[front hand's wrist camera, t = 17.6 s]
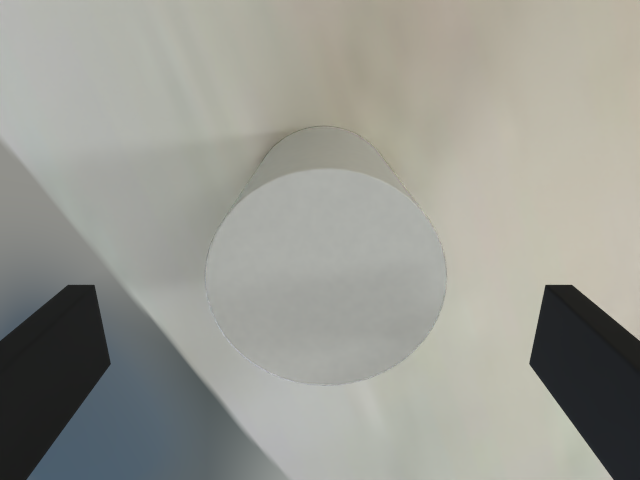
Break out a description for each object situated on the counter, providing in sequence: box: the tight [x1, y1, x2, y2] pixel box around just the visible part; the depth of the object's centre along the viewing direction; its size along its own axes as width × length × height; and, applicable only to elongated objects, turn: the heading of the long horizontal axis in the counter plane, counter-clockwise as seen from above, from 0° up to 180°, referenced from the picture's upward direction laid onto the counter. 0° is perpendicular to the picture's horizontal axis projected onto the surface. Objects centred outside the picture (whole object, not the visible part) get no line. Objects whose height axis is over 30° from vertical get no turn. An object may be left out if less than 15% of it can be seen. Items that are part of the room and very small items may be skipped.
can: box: [205, 126, 447, 386], centre depth 21 cm, size 8×8×12 cm
